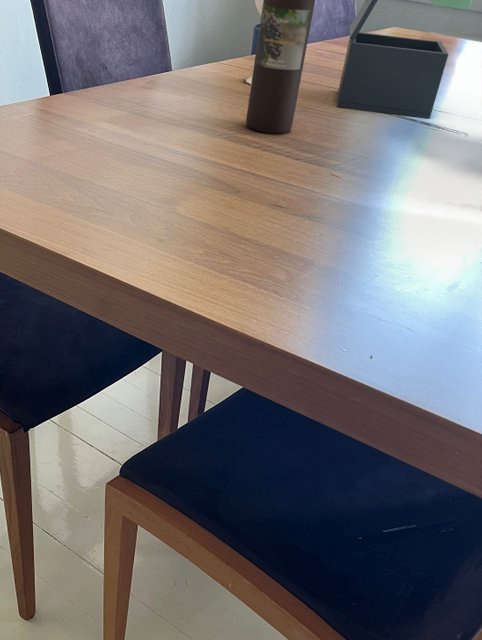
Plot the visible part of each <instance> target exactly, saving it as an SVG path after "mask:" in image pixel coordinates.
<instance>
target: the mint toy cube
mask: <svg viewBox="0 0 482 640" xmlns="http://www.w3.org/2000/svg"><path fill="white" fill-rule="evenodd" d="M429 2H430V4H431V5H432V6H434V7H445V8H453V9H461V10H470V9H471V7H472V3H473V0H429Z"/></svg>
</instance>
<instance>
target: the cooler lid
mask: <svg viewBox="0 0 482 640" xmlns="http://www.w3.org/2000/svg"><path fill="white" fill-rule="evenodd" d="M378 1H379V0H364V2H363V4H362V5H361V7H360V8H359V11H358V12H357V14H356V15H355V17H354V19H353V21H352V22H351V24H350V26H349V39H351V40H353V41H354V40H355V38H356V36H357V35H358V33H359V32H360V31H361V29H362V28H363V26H364V25H365V23H366V21H367V19H368V18H369V16H370V15H371V13H372V11H373V10H374V8H375V6H376V4H377V2H378Z"/></svg>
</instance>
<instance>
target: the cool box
mask: <svg viewBox="0 0 482 640" xmlns="http://www.w3.org/2000/svg"><path fill="white" fill-rule="evenodd" d="M448 57H449V52H448V51H447V49H446V47H445V46H444V44H443V42H442V41H440V40H431V39H421V38H415V37H405V36H395V35H385V34H378V33H377V34H376V33H368V32H360V31H359V33H358V35H357V36H356V38H355V40H354V41H353V40H351V39H350V38H348V44H347V48H346V53H345V58H344V62H343V66H342V71H341V77H340V81H339V86H338V89H337V92H338V93H337V104H336V107H337V108H344V109H352V110H360V111H367V112H375V113H383V114H391V115H398V116H405V117H406V116H407V117H412V118H413V117H415V118H422V119H431V115H432V113H433V110H434V105H435V102H436V99H437V95H438V93H439V89H440V85H441V82H442V79H443V76H444V71H445V67H446V65H447V62H448V59H449V58H448Z"/></svg>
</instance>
